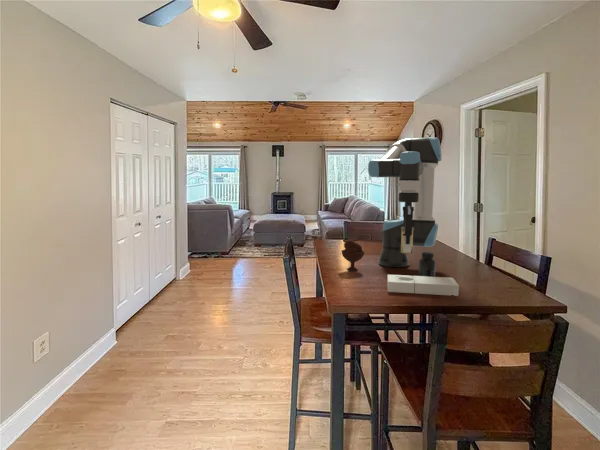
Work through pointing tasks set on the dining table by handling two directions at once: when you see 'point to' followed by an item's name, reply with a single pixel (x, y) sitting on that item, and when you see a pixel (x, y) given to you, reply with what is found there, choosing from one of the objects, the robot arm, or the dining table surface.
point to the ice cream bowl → (352, 253)
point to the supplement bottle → (427, 265)
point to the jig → (422, 285)
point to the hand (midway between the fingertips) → (406, 250)
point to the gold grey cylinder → (403, 240)
